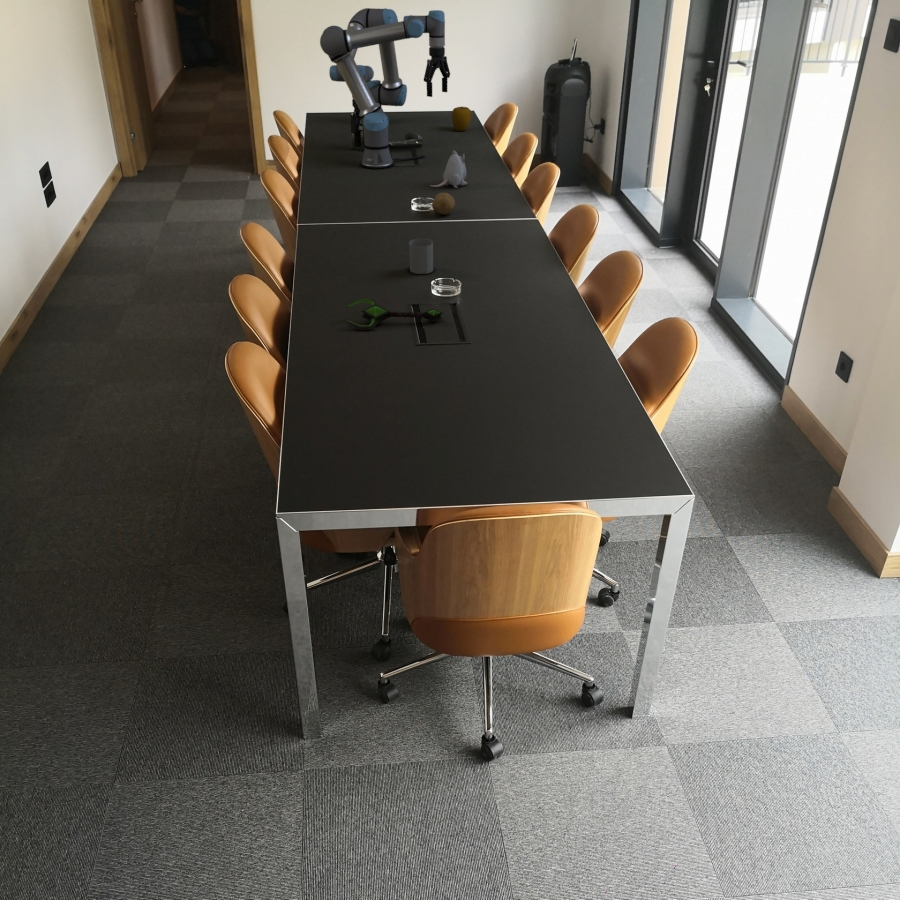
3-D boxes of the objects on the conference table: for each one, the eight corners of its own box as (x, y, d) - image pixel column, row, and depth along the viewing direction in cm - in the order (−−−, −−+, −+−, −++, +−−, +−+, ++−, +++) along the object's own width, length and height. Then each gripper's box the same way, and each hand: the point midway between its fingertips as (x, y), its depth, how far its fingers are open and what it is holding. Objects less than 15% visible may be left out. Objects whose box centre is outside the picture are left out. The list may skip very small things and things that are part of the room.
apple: (471, 132, 486) (471, 108, 479) (451, 132, 486) (451, 108, 479) (470, 128, 495) (471, 104, 488) (452, 128, 495) (452, 104, 488)
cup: (409, 265, 311) (408, 238, 306) (432, 265, 312) (431, 238, 307) (410, 274, 304) (409, 246, 299) (433, 273, 305) (433, 246, 299)
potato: (453, 208, 369) (453, 189, 365) (456, 218, 357) (456, 199, 353) (431, 208, 368) (430, 189, 364) (432, 218, 356) (432, 199, 352)
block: (360, 146, 459) (359, 125, 454) (371, 148, 456) (370, 127, 450) (352, 149, 455) (351, 128, 449) (363, 151, 451) (362, 129, 446)
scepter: (442, 294, 271) (346, 291, 269) (443, 324, 264) (344, 322, 262) (441, 307, 276) (346, 304, 274) (442, 337, 269) (345, 335, 267)
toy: (472, 184, 399) (472, 151, 391) (436, 195, 384) (436, 161, 376) (457, 180, 404) (458, 147, 396) (422, 191, 389) (421, 157, 381)
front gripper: (444, 43, 423) (444, 89, 435) (415, 49, 405) (416, 97, 417) (457, 44, 420) (457, 90, 431) (429, 50, 402) (429, 99, 413)
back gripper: (365, 94, 450) (367, 140, 463) (341, 101, 436) (344, 148, 449) (376, 96, 447) (378, 142, 460) (353, 102, 433) (356, 149, 446)
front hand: (437, 94), depth 424 cm, fingers open, 13 cm apart
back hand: (361, 144), depth 454 cm, fingers closed on block, 7 cm apart
